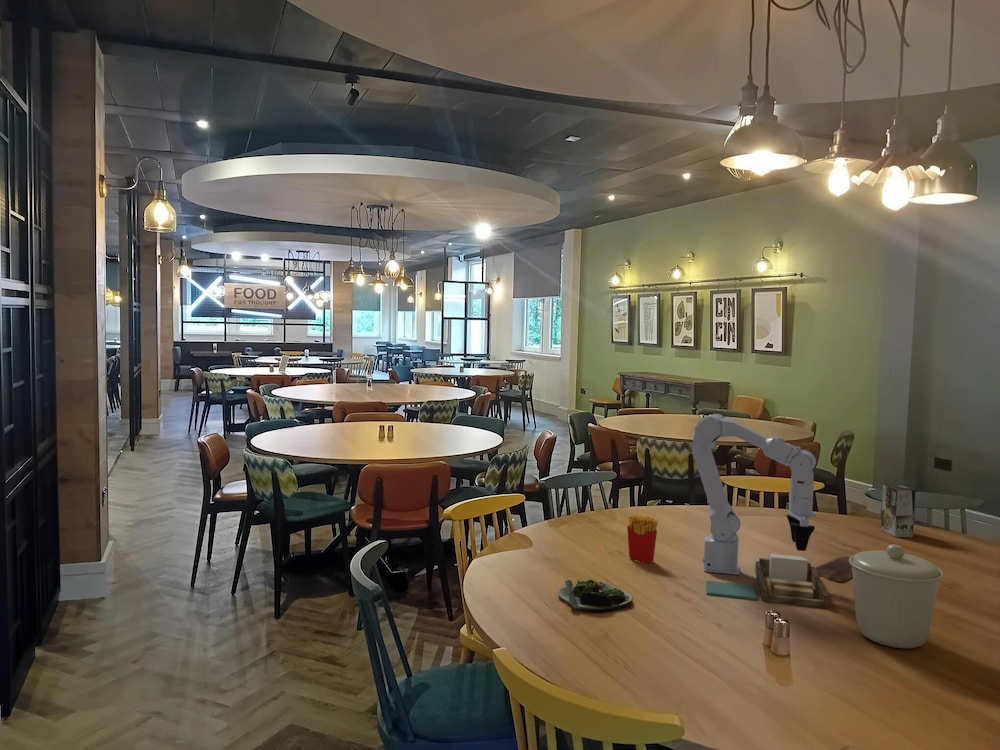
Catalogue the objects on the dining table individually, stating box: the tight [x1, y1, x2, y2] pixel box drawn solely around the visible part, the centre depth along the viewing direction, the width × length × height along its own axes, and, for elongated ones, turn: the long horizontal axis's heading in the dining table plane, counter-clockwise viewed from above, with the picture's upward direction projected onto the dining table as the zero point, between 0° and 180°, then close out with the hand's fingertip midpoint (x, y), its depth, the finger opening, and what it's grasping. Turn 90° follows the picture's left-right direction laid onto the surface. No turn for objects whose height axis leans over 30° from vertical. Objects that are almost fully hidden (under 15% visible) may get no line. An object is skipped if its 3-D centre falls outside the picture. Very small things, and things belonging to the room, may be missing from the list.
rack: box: [754, 557, 830, 609], centre depth 183 cm, size 15×23×4 cm
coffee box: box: [880, 483, 917, 538], centre depth 236 cm, size 9×6×16 cm
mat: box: [705, 580, 757, 601], centre depth 181 cm, size 12×9×1 cm
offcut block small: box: [773, 585, 814, 599], centre depth 176 cm, size 9×2×3 cm, turn 72°
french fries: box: [626, 514, 659, 564], centre depth 204 cm, size 9×4×13 cm, turn 50°
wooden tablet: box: [814, 556, 853, 584], centre depth 200 cm, size 26×2×10 cm
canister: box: [849, 543, 945, 650], centre depth 153 cm, size 18×18×21 cm
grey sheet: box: [768, 553, 809, 583], centre depth 186 cm, size 9×3×8 cm, turn 74°
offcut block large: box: [769, 578, 814, 595], centre depth 179 cm, size 10×2×4 cm, turn 75°
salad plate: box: [557, 578, 633, 614], centre depth 175 cm, size 19×18×5 cm
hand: (798, 546), depth 187 cm, fingers open, 7 cm apart
